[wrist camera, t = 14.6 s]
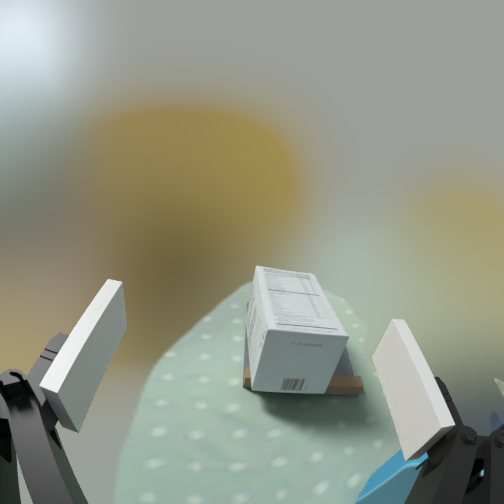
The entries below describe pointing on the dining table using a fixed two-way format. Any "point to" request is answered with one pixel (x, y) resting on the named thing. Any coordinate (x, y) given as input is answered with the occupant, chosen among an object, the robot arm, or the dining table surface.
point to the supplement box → (292, 333)
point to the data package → (392, 481)
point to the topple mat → (338, 385)
